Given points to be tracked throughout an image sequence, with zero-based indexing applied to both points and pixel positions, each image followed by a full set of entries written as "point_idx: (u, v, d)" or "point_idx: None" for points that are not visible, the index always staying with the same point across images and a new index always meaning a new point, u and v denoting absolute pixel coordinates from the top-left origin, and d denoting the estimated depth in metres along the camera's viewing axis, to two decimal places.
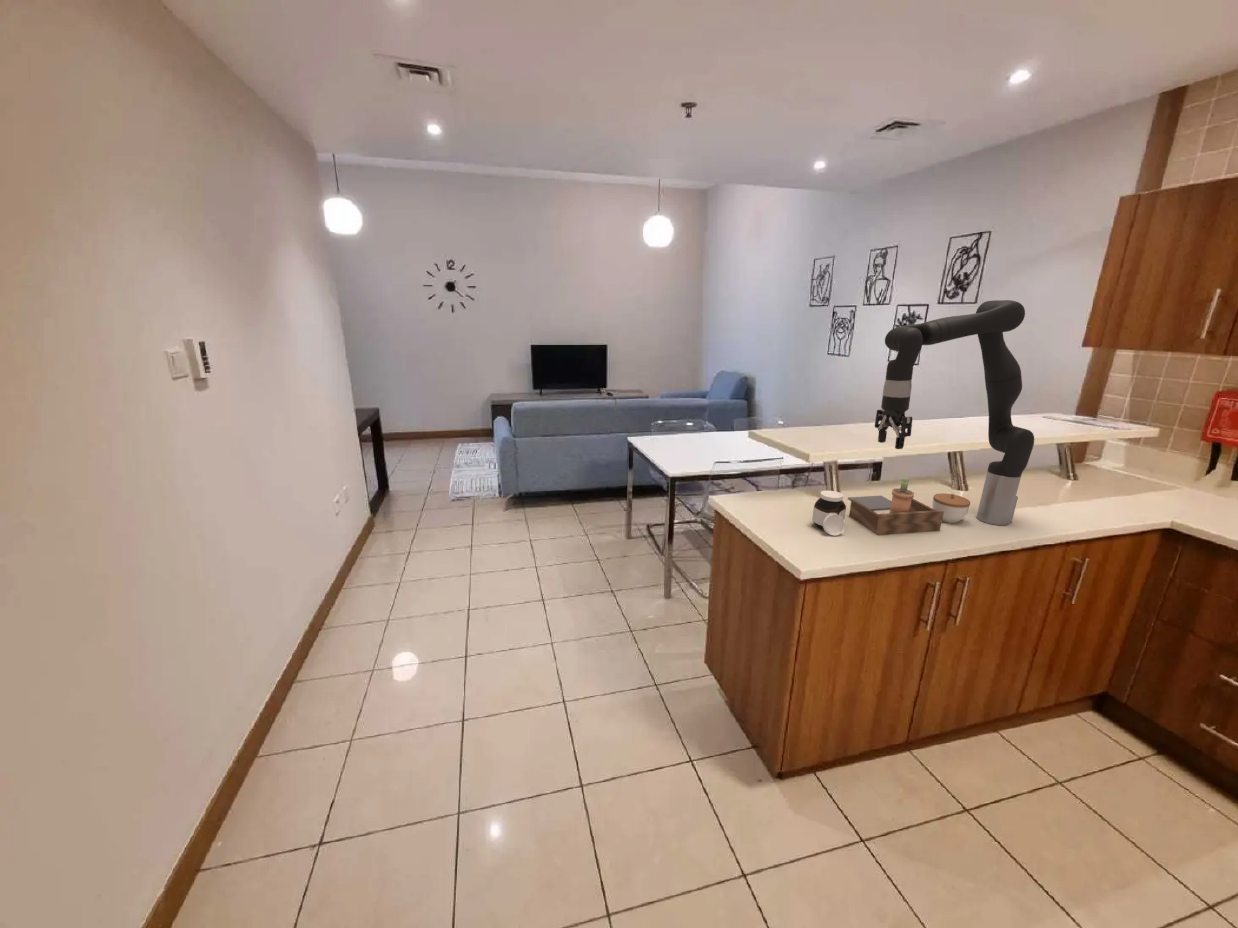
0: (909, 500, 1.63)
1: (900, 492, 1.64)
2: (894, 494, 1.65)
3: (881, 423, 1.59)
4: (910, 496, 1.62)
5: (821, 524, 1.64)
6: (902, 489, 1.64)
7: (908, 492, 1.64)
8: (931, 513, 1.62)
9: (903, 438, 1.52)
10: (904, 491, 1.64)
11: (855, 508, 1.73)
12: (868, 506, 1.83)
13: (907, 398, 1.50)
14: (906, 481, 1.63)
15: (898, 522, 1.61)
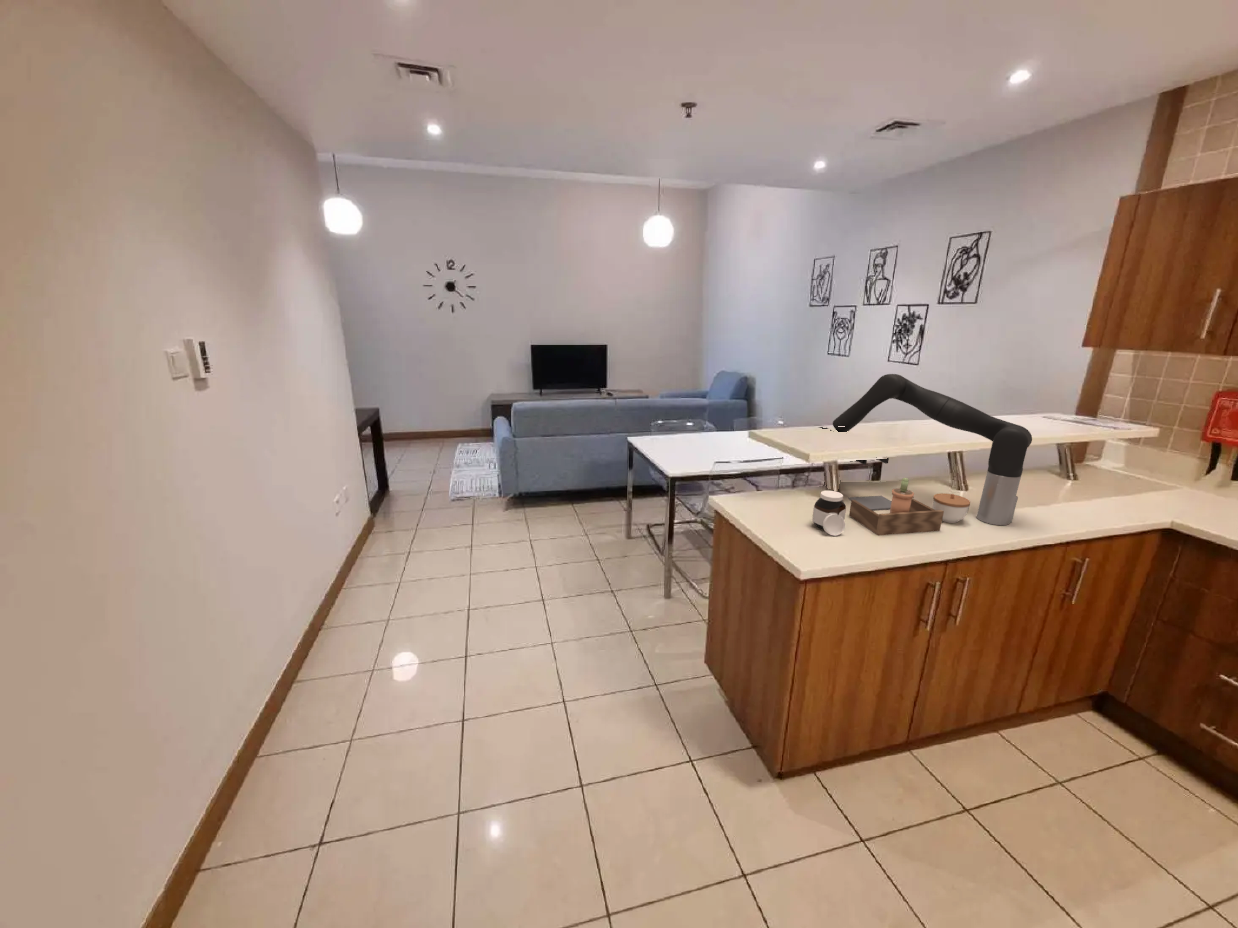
0: (909, 500, 1.63)
1: (900, 492, 1.64)
2: (894, 494, 1.65)
3: None
4: (910, 496, 1.62)
5: (821, 524, 1.64)
6: (902, 489, 1.64)
7: (908, 492, 1.64)
8: (931, 513, 1.62)
9: None
10: (904, 491, 1.64)
11: (855, 508, 1.73)
12: (868, 506, 1.83)
13: None
14: (906, 481, 1.63)
15: (898, 522, 1.61)
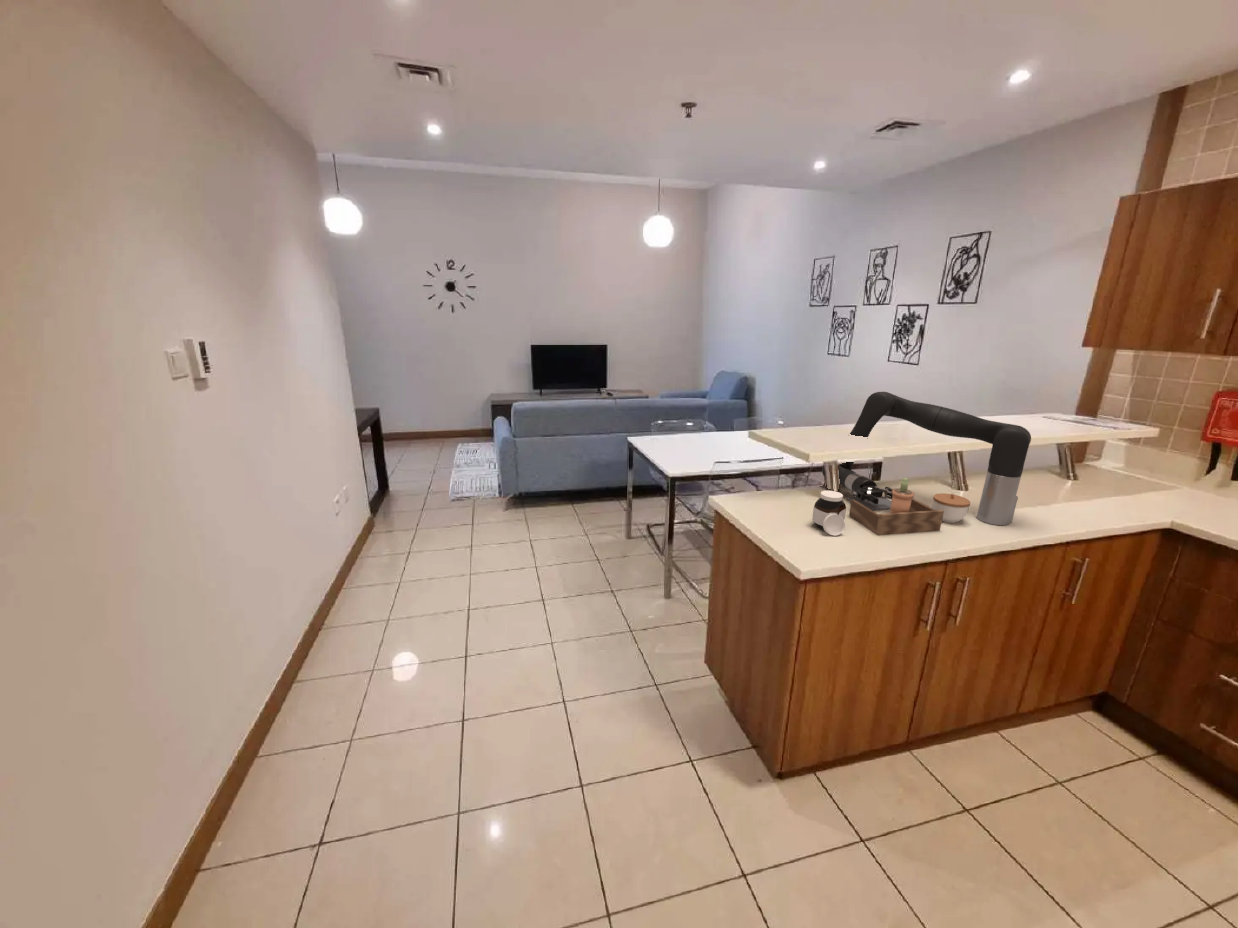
0: (909, 500, 1.63)
1: (900, 492, 1.64)
2: (894, 494, 1.65)
3: None
4: (910, 496, 1.62)
5: (821, 524, 1.64)
6: (902, 489, 1.64)
7: (908, 492, 1.64)
8: (931, 513, 1.62)
9: (868, 497, 1.75)
10: (904, 491, 1.64)
11: (855, 508, 1.73)
12: (868, 506, 1.83)
13: (852, 483, 1.86)
14: (906, 481, 1.63)
15: (898, 522, 1.61)
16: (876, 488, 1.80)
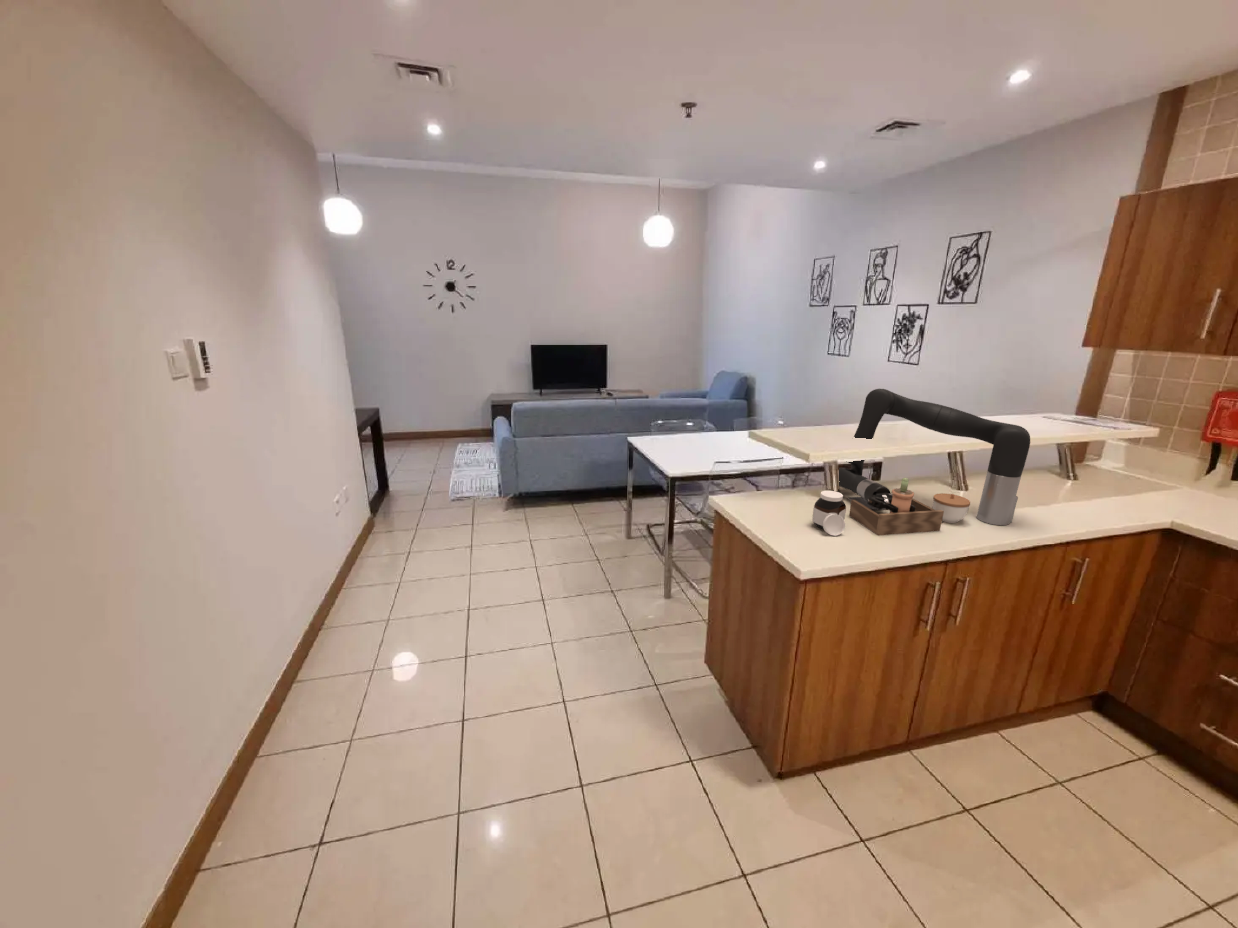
0: (909, 500, 1.63)
1: (900, 492, 1.64)
2: (894, 494, 1.65)
3: None
4: (910, 496, 1.62)
5: (821, 524, 1.64)
6: (902, 489, 1.64)
7: (908, 492, 1.64)
8: (931, 513, 1.62)
9: (887, 506, 1.67)
10: (904, 491, 1.64)
11: (855, 508, 1.73)
12: (868, 506, 1.83)
13: (865, 490, 1.79)
14: (906, 481, 1.63)
15: (898, 522, 1.61)
16: (890, 495, 1.73)
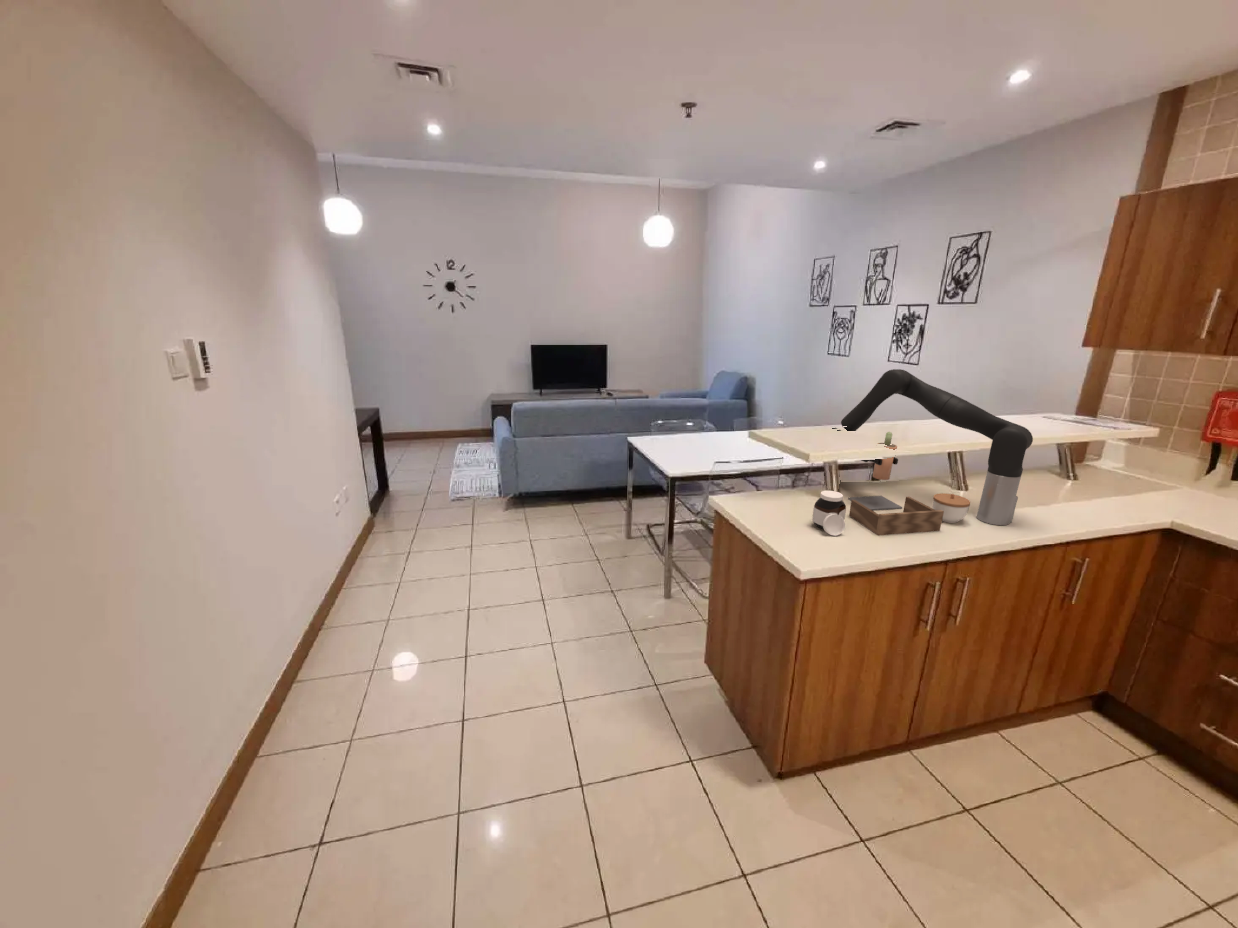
0: None
1: None
2: None
3: None
4: (893, 448, 1.75)
5: (821, 524, 1.64)
6: (886, 442, 1.77)
7: (892, 445, 1.77)
8: (931, 513, 1.62)
9: None
10: (888, 444, 1.77)
11: (855, 508, 1.73)
12: (868, 506, 1.83)
13: None
14: (890, 435, 1.76)
15: (898, 522, 1.61)
16: None
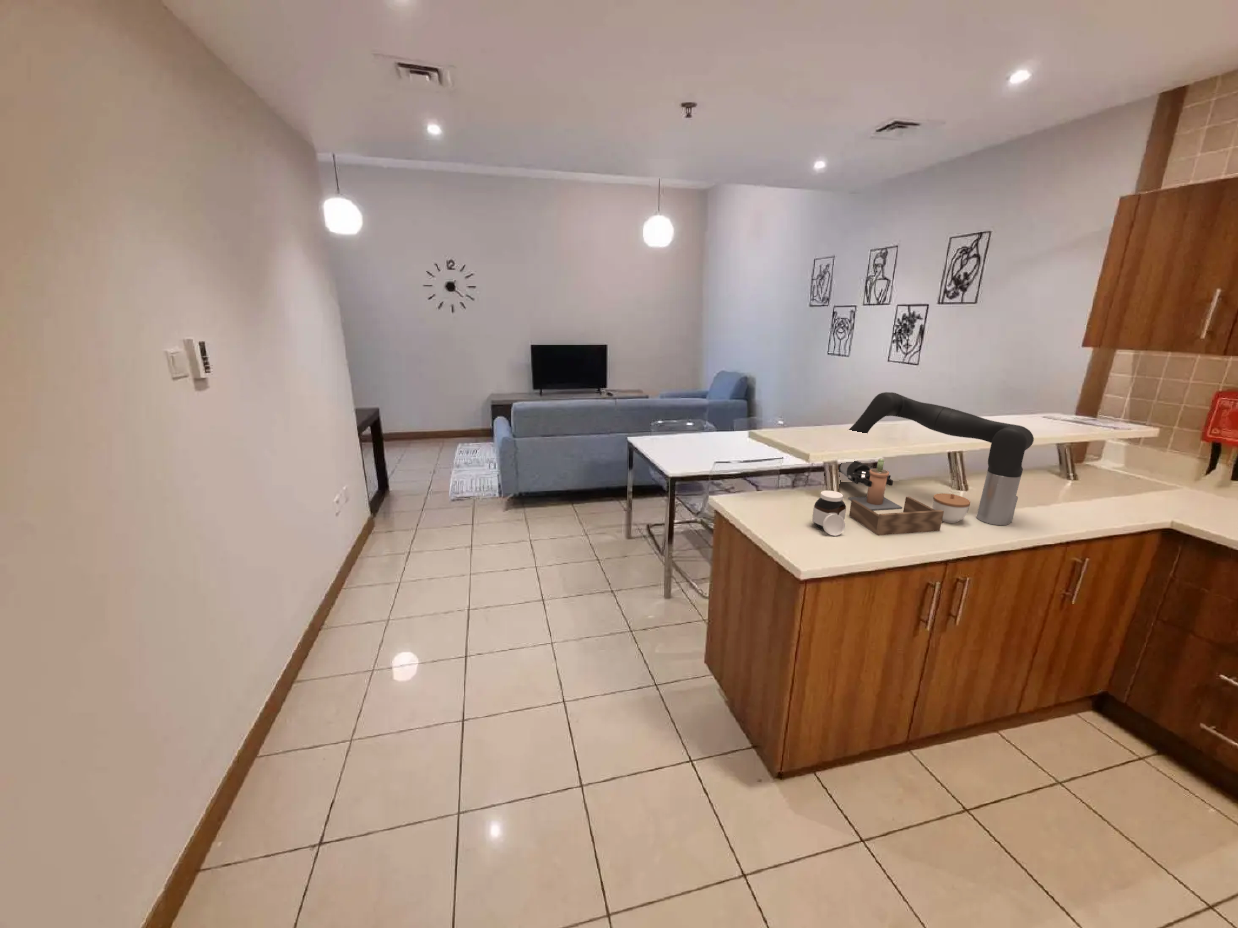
0: (884, 478, 1.82)
1: (876, 471, 1.83)
2: (871, 473, 1.83)
3: None
4: (885, 475, 1.81)
5: (821, 524, 1.64)
6: (878, 469, 1.83)
7: (884, 471, 1.83)
8: (931, 513, 1.62)
9: (862, 480, 1.86)
10: (880, 470, 1.83)
11: (855, 508, 1.73)
12: (868, 506, 1.83)
13: (847, 468, 1.97)
14: (882, 461, 1.82)
15: (898, 522, 1.61)
16: None
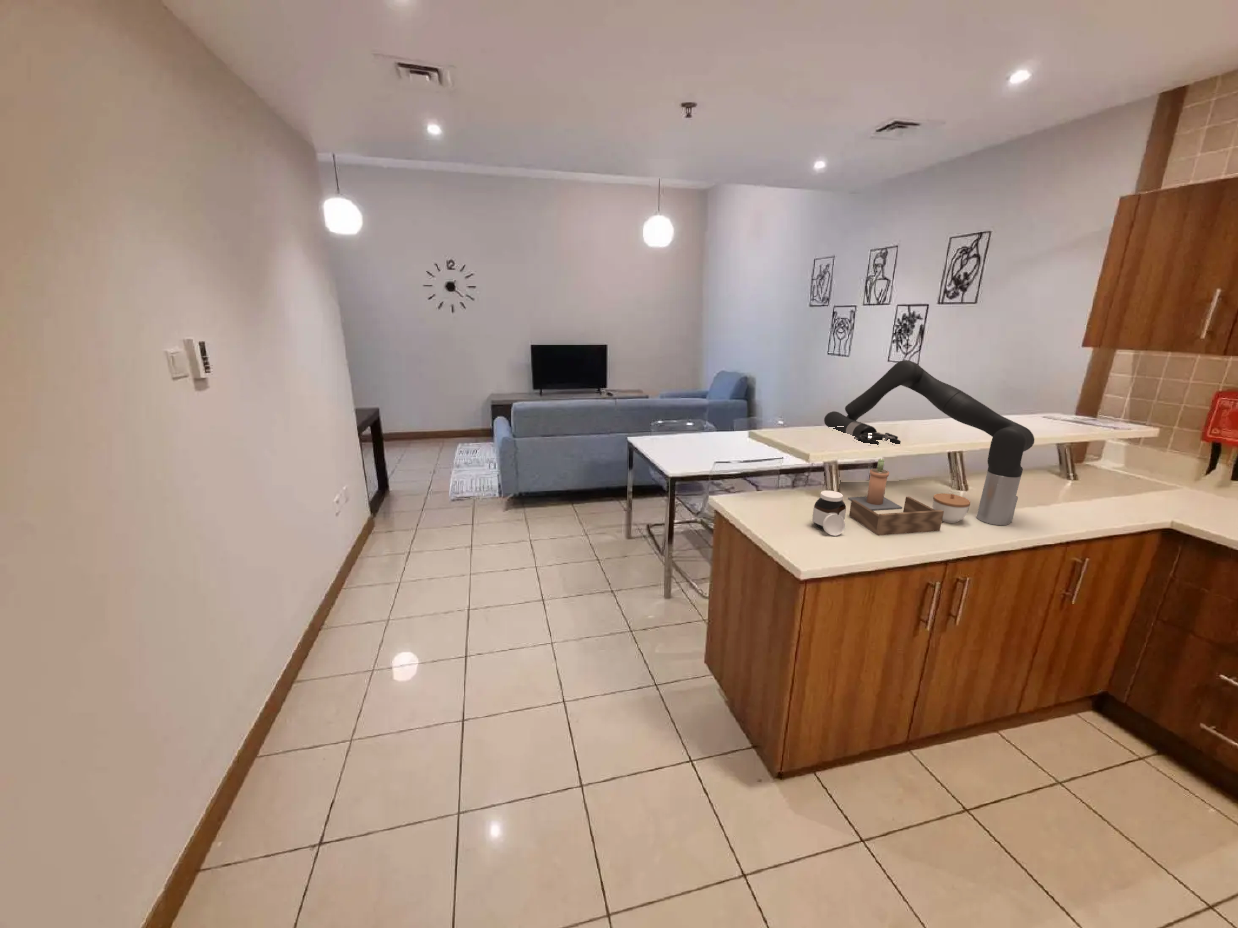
0: (885, 478, 1.82)
1: (877, 471, 1.83)
2: (871, 473, 1.83)
3: None
4: (885, 475, 1.81)
5: (821, 524, 1.64)
6: (878, 469, 1.83)
7: (884, 471, 1.83)
8: (931, 513, 1.62)
9: (869, 441, 1.81)
10: (880, 470, 1.83)
11: (855, 508, 1.73)
12: (868, 506, 1.83)
13: (853, 430, 1.92)
14: (882, 461, 1.82)
15: (898, 522, 1.61)
16: (876, 434, 1.86)
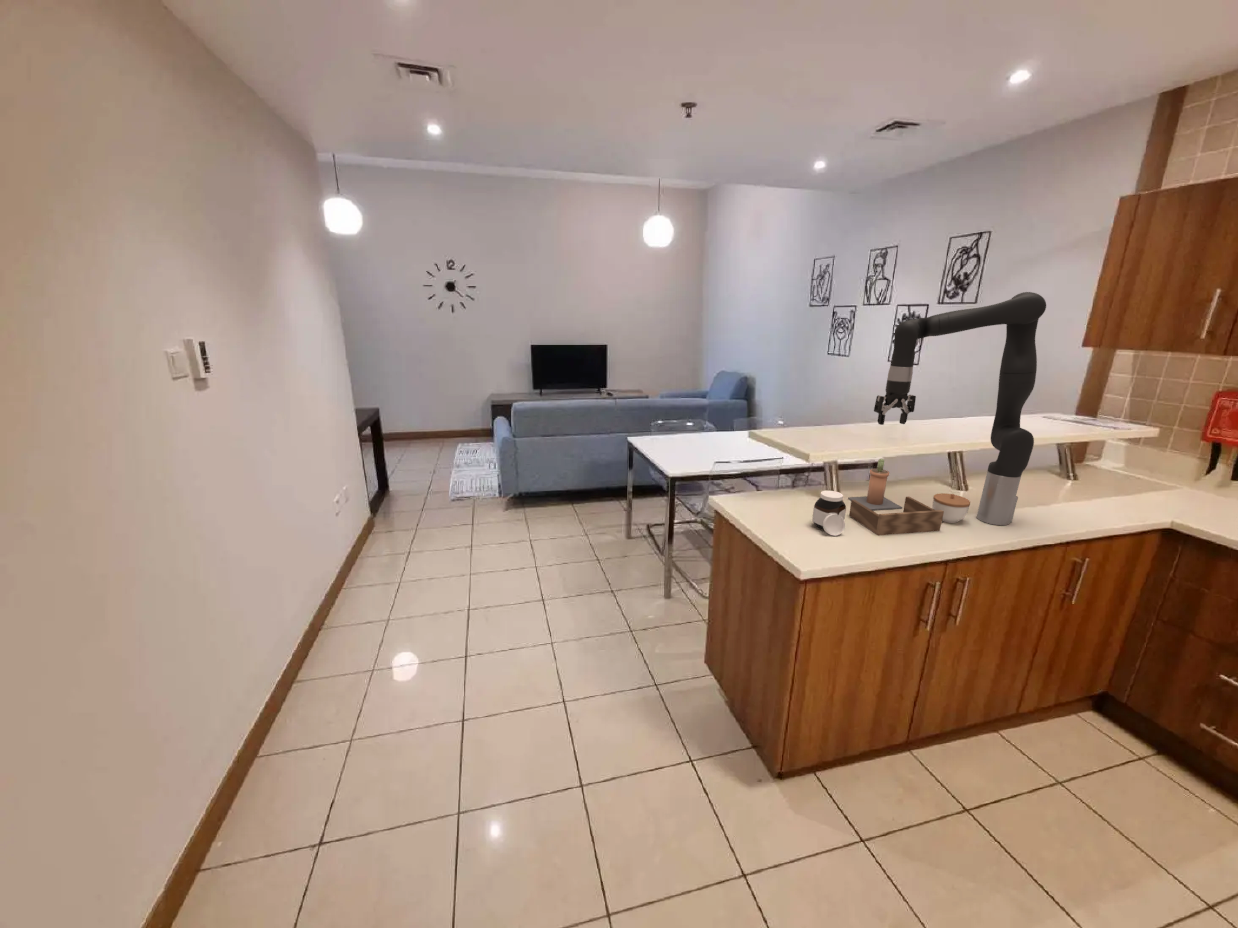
0: (885, 478, 1.82)
1: (877, 471, 1.83)
2: (871, 473, 1.83)
3: None
4: (885, 475, 1.81)
5: (821, 524, 1.64)
6: (878, 469, 1.83)
7: (884, 471, 1.83)
8: (931, 513, 1.62)
9: (880, 415, 1.79)
10: (880, 470, 1.83)
11: (855, 508, 1.73)
12: (868, 506, 1.83)
13: (891, 381, 1.75)
14: (882, 461, 1.82)
15: (898, 522, 1.61)
16: (900, 401, 1.77)
